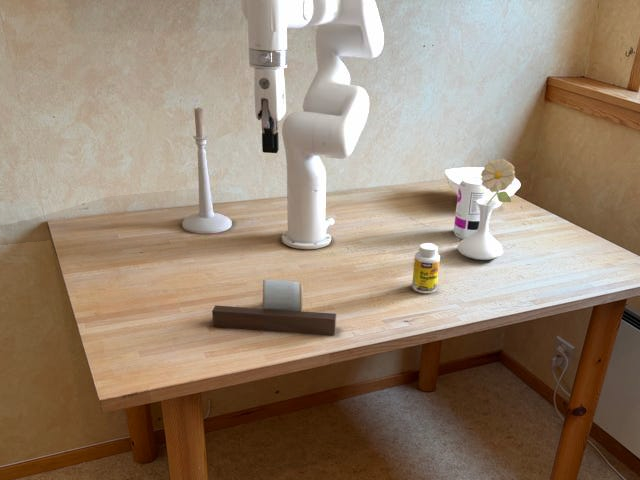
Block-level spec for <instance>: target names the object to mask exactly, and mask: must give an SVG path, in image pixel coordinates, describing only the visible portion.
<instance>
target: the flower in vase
mask: <svg viewBox="0 0 640 480" xmlns="http://www.w3.org/2000/svg"><path fill="white" fill-rule="evenodd" d="M483 168H484V170H482V173H481V176H482V178H481V180H482V181H483V182H482V183H481V184H482V185H483V187H485V188H486V189H489V191H491V192H496V194H495V195H494V196H493V197H492V198H491V199H479V200H477V201H476V202H477V204H478V206H479V210H480V221H479V227H478V229H477V231H476V232H474V233H473V234H471V235H469V236H468V237H466V238H464V239H461V240H460V241H459V243H458V244H457V249H458V252H459V253H460V254H461V255H463V256H465V257H467V258H470V259H473V260H477V261H478V260H479V261H489V260H495V259H497V258H500V257H501V256H502V255H503V253H504V249H503V246H502V245H501V244H500V242H499V241H498V240H497V239H496V238H495V237H493V235H492V234H491V233H490V231H489V221H490V217H491V214H492V212H493V210H494V209H495V208H494V207H495V206H496V205H497V202H496V201H494V200H492V199H493V198H494V197H495V196H496V195H497V197H498V200H499V201H500V202H503V203H512V199H511V196H509V195H508V194H507V192H505V191H503V190H506V189H507V188H508V187H509V184H512V181H513V180H514V179H515V178H516V171H515V166H514V165H513V164H512V163H511V162H509V161H508V160H506V159H504V157H501V158H499V159H498V158H495V159H494V160H489V161H488V163H487V164H485V165H484V167H483ZM479 188H480V186H479ZM480 189H481V188H480ZM500 190H501V191H502V192H499V191H500ZM481 191H482V192H484V193H485V194H487V195H488V196H489V197H491V196H490V195H489V194H488V193H487V192H486V191H484V190H483V189H481Z"/></svg>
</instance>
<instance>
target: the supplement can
mask: <svg viewBox="0 0 640 480" xmlns="http://www.w3.org/2000/svg"><path fill="white" fill-rule="evenodd" d="M482 182H483V181H482V180H481V177H464V178H463V179H462V181H461V183H460V184H459V190H458V196H457V199H456V207H455V217H454V225H453V234H455V236H456V237H457V238H458V239H461V240H463V239H464V238H466V237H468V236H469V235H471V234H473V233H474V232H476V231H477V229H478V227H479V221H480V210H479V206H478V204H477V202H476V201H477V200H479V199H490V197H489V196H488V195H487V194H485V193H484V192H482V191H481V189H483V190H484V191H486V192H487V193H488V194H489V195H490V192H491V191H489V189H486V188H485V187H483V185H482V184H481V183H482ZM479 186H480V188H481V189H480V188H479Z"/></svg>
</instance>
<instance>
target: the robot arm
mask: <svg viewBox="0 0 640 480" xmlns="http://www.w3.org/2000/svg"><path fill="white" fill-rule="evenodd" d="M241 10H242V13H243V17H244V18H245V19H246V20H247V35H248V36H247V37H248V63H249V64H248V65H249V67H250V68H254V78H253V83H254V111H255V112H254V113H255V118H256V119H257V120H258V121H260V122H261V148H262V153H266V154H278V152H279V149H280V145H279V141H280V140H279V122H280V121H281V120H282V119H283V117H284V116H285V115H286V114H287V113H286V112H287V99H286V82H285V81H286V80H285V69H287V68H288V29H294V30H295V29H302V28H304V27H316V26H317V27H316V31H315V53H316V62H317V63H316V64H317V70H316V73H315V76H314V77H313V79H312V81H311V83H310V85H309V87H308V88H307V91H306V93H305V95H304V98H303V102H302V110H301V111H300V110H299V111H294V112H291V113H289V114H288V115H287V116H286V117H285V118H284V120H283V123H282V126H281V135H282V142H283V147H284V152H285V160H286V161H285V163H286V198H287V199H286V205H287V208H286V209H287V211H286V212H287V213H286V214H287V230H286V231H284V232H283V233H282V235H281V242H282V243H283V244H284V245H285V246H287V247H290V248H293V249H298V250H316V249H317V250H318V249H321V248H324V247H327V246H328V245H330V244H331V242H332V235H331V234H330V233H329V232H328V228H330V227H332V226H334V225H335V224H336V222H335V219H334V218H333V217H330V218H329V217H328V218H327V219H326V208H327V207H326V205H327V203H326V201H327V172H326V168H325V166H324V163H323V161H322V160H321V157H323V158H329V159H337V160H338V159H339V160H342V159H343V160H344V159H347V158H349V157H350V156H351V154H352V153H353V152H354V149H355V147H356V145H357V143H358V141H359V138H360V136H361V134H362V131H363V129H364V127H365V125H366V122H367V120H368V116H369V113H370V111H369V110H370V97H369V95H368V92H367V91H366V89H365V88H364V87H362V86H359V85H356V84H351V74H350V72H349V70H348V68H347V67H346V65H345V64H344V62H343V61H342V59H340V57H348V58H360V59H375V58H377V57H378V56H379V55H381V53H382V51H383V48H384V43H385V35H384V27H383V24H382V21H381V17H380V14H379V9H378V6H377V3H376V0H241Z"/></svg>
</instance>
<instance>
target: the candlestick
mask: <svg viewBox="0 0 640 480" xmlns="http://www.w3.org/2000/svg"><path fill="white" fill-rule="evenodd" d="M193 112H194V124H195V135H193V136H192V138H193V139H194V140H195V145H196V146H197V176H198V177H197V179H198V212H197V213H194V214H191V215H189V216H187V217H185V218H184V219H183V221H182V223H181V226H182V228H183V229H184V231H187V232H189V233H194V234H203V235H204V234H209V235H210V234H217V233H222V232H224V231H227V230H229V229H231V228H232V225H233V223H232V220H231V218H229V216H226V215H224V214H221V213H218V212H214V207H213V200H212V191H211V183H210V175H209V168H208V159H207V151H206V148H205V147H206V145H207V139H208V138H209V136H207V135H205V123H204V110H203V108H200V107H199V106H197V107H196V108H194V111H193Z"/></svg>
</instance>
